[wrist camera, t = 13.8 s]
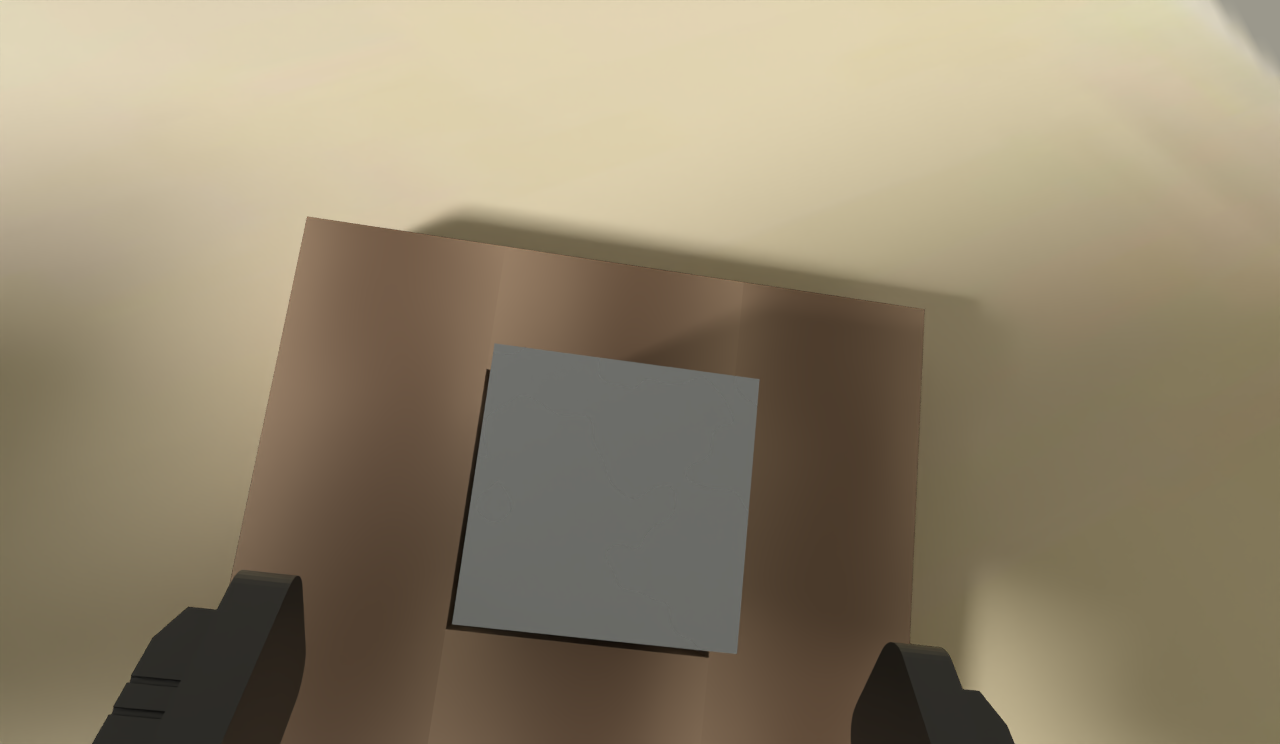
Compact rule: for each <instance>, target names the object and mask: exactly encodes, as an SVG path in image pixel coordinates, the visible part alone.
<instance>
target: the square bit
mask: <svg viewBox="0 0 1280 744" xmlns="http://www.w3.org/2000/svg"><path fill="white" fill-rule="evenodd" d="M759 380H760V379H754V378H747V377H740V376H732V375H725V374H717V373H710V372H703V371H695V370H688V369H680V368H673V367H666V366H658V365H651V364H643V363H636V362H629V361H621V360H614V359H606V358H599V357H592V356H584V355H577V354H570V353H562V352H555V351H547V350H540V349H533V348H525V347H518V346H510V345H503V344H496V343H494V350H493V357H492V363H491V370H490V376H489V383H488V390H487V396H486V403H485V410H484V416H483V423H482V429H481V436H480V443H479V449H478V456H477V463H476V469H475V476H474V482H473V489H472V496H471V502H470V509H469V515H468V522H467V529H466V535H465V542H464V549H463V555H462V562H461V568H460V575H459V582H458V588H457V595H456V602H455V608H454V615H453V621H452V624H454V625H464V626H473V627H483V628H492V629H502V630H511V631H521V632H531V633H540V634H550V635H559V636H569V637H578V638H588V639H597V640H607V641H616V642H626V643H636V644H645V645H655V646H664V647H674V648H683V649H693V650H702V651H712V652H721V653H731V654H737V647H738V635H739V623H740V611H741V599H742V586H743V574H744V562H745V550H746V538H747V526H748V513H749V501H750V489H751V477H752V465H753V453H754V441H755V428H756V416H757V404H758V392H759Z"/></svg>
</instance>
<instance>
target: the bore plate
mask: <svg viewBox="0 0 1280 744" xmlns="http://www.w3.org/2000/svg"><path fill="white" fill-rule="evenodd" d="M924 314H925V309H919V308H912V307H906V306H899V305H892V304H886V303H879V302H872V301H866V300H859V299H852V298H846V297H839V296H832V295H826V294H819V293H812V292H806V291H799V290H793V289H786V288H779V287H773V286H766V285H759V284H753V283H746V282H739V281H733V280H726V279H719V278H713V277H706V276H699V275H693V274H686V273H679V272H673V271H666V270H659V269H653V268H646V267H639V266H633V265H626V264H619V263H613V262H606V261H599V260H593V259H586V258H580V257H573V256H566V255H560V254H553V253H546V252H540V251H533V250H526V249H520V248H513V247H506V246H500V245H493V244H486V243H480V242H473V241H466V240H460V239H453V238H446V237H440V236H433V235H426V234H420V233H413V232H406V231H400V230H393V229H387V228H380V227H373V226H367V225H360V224H353V223H347V222H340V221H333V220H327V219H320V218H313V217H307V220H306V224H305V229H304V234H303V239H302V243H301V248H300V253H299V257H298V262H297V267H296V272H295V276H294V281H293V286H292V291H291V295H290V300H289V305H288V310H287V314H286V319H285V324H284V329H283V333H282V338H281V343H280V347H279V352H278V357H277V362H276V366H275V371H274V376H273V381H272V385H271V390H270V395H269V400H268V404H267V409H266V414H265V419H264V423H263V428H262V433H261V438H260V442H259V447H258V452H257V456H256V461H255V466H254V471H253V475H252V480H251V485H250V490H249V494H248V499H247V504H246V509H245V513H244V518H243V523H242V528H241V532H240V537H239V542H238V547H237V551H236V556H235V561H234V565H233V570H232V575H231V580H230V583H231V581H232V580H233V578H234V576H235V575H236V574H237V573H238V572H239V571H240V570H251V571H260V572H269V573H278V574H288V575H297V576H300V577H301V580H302V586H303V604H304V623H305V642H306V658H305V667H304V673H303V678H302V682H301V686H300V690H299V694H298V697H297V700H296V703H295V705H294V708H293V711H292V713H291V716H290V719H289V721H288V724H287V727H286V730H285V732H284V735H283V738H282V740H281V743H280V744H851V721H852V715H853V711H854V708H855V706H856V703H857V701H858V699H859V697H860V695H861V693H862V691H863V689H864V687H865V684H866V682H867V680H868V678H869V676H870V674H871V672H872V670H873V668H874V665H875V663H876V661H877V659H878V657H879V655H880V653H881V651H882V649H883V647H884V646H885V645H886V644H887V643H889V642H896V643H905V644H910V625H911V603H912V580H913V558H914V536H915V514H916V491H917V469H918V447H919V425H920V403H921V380H922V358H923V336H924ZM494 343H496V344H503V345H510V346H518V347H525V348H533V349H540V350H547V351H555V352H562V353H570V354H577V355H584V356H592V357H599V358H606V359H614V360H621V361H629V362H636V363H643V364H651V365H658V366H666V367H673V368H680V369H688V370H695V371H703V372H710V373H717V374H725V375H732V376H740V377H747V378H754V379H760V380H759V392H758V404H757V416H756V428H755V441H754V453H753V465H752V477H751V489H750V501H749V513H748V526H747V538H746V550H745V562H744V574H743V586H742V599H741V611H740V623H739V635H738V647H737V654H731V653H721V652H712V651H702V650H693V649H683V648H674V647H664V646H655V645H645V644H636V643H626V642H616V641H607V640H597V639H588V638H578V637H569V636H559V635H550V634H540V633H531V632H521V631H511V630H502V629H492V628H483V627H473V626H464V625H454V624H452V621H453V615H454V608H455V602H456V595H457V588H458V582H459V575H460V568H461V562H462V555H463V549H464V542H465V535H466V529H467V522H468V515H469V509H470V502H471V496H472V489H473V482H474V476H475V469H476V463H477V456H478V449H479V443H480V436H481V429H482V423H483V416H484V410H485V403H486V396H487V390H488V383H489V376H490V370H491V363H492V357H493V350H494ZM229 585H230V584H229Z"/></svg>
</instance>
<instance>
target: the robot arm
mask: <svg viewBox="0 0 1280 744" xmlns="http://www.w3.org/2000/svg"><path fill="white" fill-rule="evenodd" d="M305 658H306V642H305V623H304V604H303V586H302V580H301V577H300V576H297V575H288V574H278V573H269V572H260V571H251V570H240V571H239V572H238V573H237V574H236V575H235V576H234V578H233V580H232V581H231V583H230V585H229V587H228V589H227V591H226V593H225V595H224V597H223V599H222V601H221V603H220V605H219V607H218V609H217V610H214V609H204V608H195V607H188V608H186V609H185V610H184V611H183V612H182V613H181V614H179V615H178V616H177V617H176V618H175V619H174V620H173V621H171V622H170V623H169V624H168V625H167V626H166V627H164V628H163V629H162V630H161V631H160V632H159V633H158V634H156V635H155V636H154V637H153V638H152V640H151V642H150V643H149V645H148V647H147V649H146V650H145V652H144V654H143V656H142V657H141V659H140V661H139V663H138V664H137V666H136V668H135V670H134V671H133V673H132V675H131V680H130V682H129V683H127V684H126V685H125V687H124V689H123V691H122V692H121V694H120V696H119V698H118V699H117V701H116V703H115V705H114V706H113V707H114V708H113V712H112V714H111V715H108V717H107V719H106V720H105V722H104V724H103V726H102V727H101V729H100V731H99V733H98V734H97V736H96V738H95V740H94V741H93V743H92V744H280V743H281V740H282V738H283V735H284V732H285V730H286V727H287V724H288V721H289V719H290V716H291V713H292V711H293V708H294V705H295V703H296V700H297V697H298V694H299V690H300V686H301V682H302V678H303V673H304V667H305ZM851 744H1014V741H1013V739H1012V736H1011V734H1010V731H1009V729H1008V727H1007V725H1006V723H1005V722H1004V721H1003V720H1002V719H1001V717H1000V716H999V715H998V714H997V712H996V711H995V710H994V709H993V707H992V706H991V705H990V704H989V702H988V701H987V700H986V699H985V697H984V696H983V695H982V694H981V693H980V691H974V690H964V689H962V686H961V684H960V681H959V678H958V676H957V673H956V670H955V668H954V665H953V663H952V660H951V658H950V656H949V654H948V653H947V652H946V651H945V650H944V649H943V648H940V647H933V646H923V645H914V644H905V643H896V642H889V643H887V644H886V645H885V646H884V647H883V649H882V651H881V653H880V655H879V657H878V659H877V661H876V663H875V665H874V668H873V670H872V672H871V674H870V676H869V678H868V680H867V682H866V684H865V687H864V689H863V691H862V693H861V695H860V697H859V699H858V701H857V703H856V706H855V708H854V711H853V715H852V721H851Z"/></svg>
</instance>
